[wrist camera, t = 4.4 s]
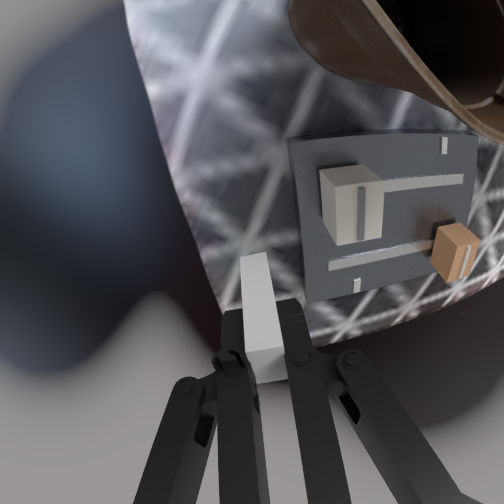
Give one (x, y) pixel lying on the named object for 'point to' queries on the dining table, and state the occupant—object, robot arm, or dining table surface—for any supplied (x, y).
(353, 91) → the dining table surface
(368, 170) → the fader
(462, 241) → the fader
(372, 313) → the dining table surface
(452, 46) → the plant pot
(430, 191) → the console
